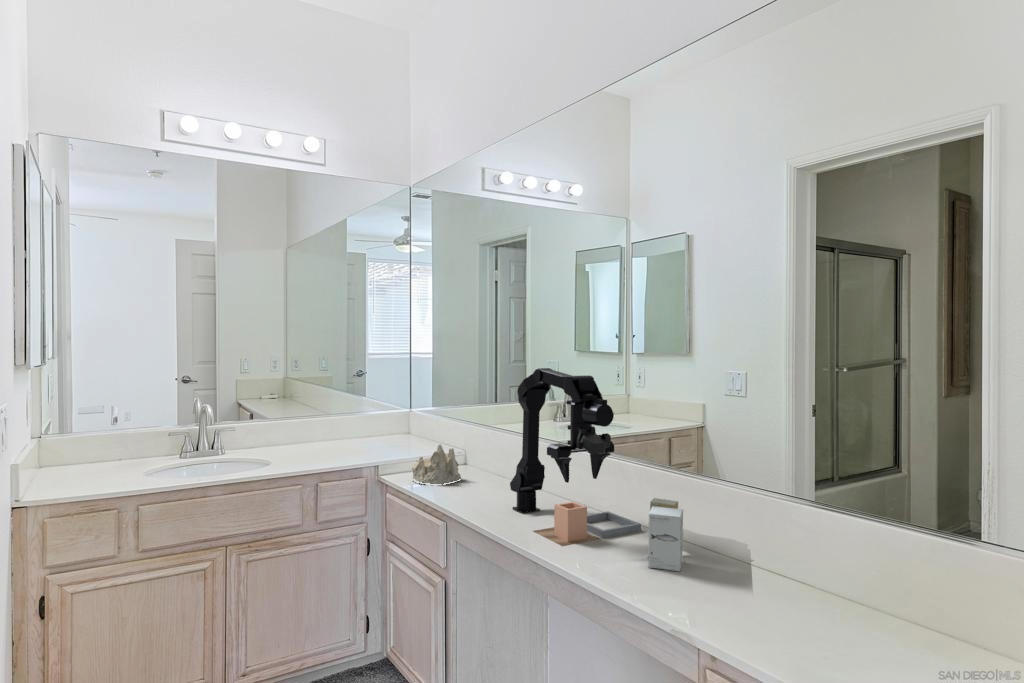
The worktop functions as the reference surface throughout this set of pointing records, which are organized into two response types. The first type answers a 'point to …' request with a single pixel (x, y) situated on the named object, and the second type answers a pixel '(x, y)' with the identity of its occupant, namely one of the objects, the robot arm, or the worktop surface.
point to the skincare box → (664, 503)
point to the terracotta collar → (570, 521)
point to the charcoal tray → (627, 528)
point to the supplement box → (665, 538)
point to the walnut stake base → (550, 535)
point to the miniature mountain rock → (437, 468)
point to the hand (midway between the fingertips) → (581, 480)
